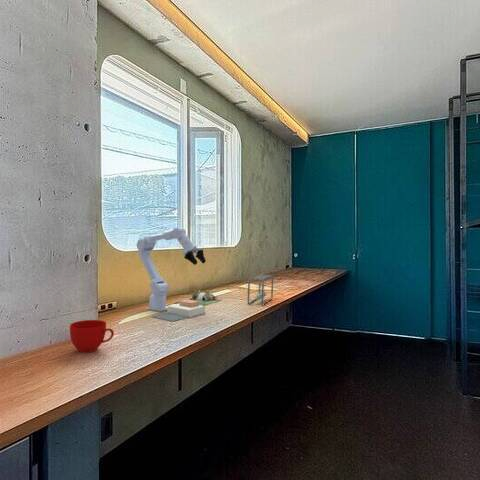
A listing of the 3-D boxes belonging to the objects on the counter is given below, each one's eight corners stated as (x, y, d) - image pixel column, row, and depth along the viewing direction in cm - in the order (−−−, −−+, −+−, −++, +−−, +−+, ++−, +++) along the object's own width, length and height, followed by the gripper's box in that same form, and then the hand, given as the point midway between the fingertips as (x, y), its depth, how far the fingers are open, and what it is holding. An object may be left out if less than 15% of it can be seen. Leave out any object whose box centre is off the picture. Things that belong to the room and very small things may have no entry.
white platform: (167, 313, 208) (167, 306, 208) (183, 309, 220) (183, 302, 220) (188, 317, 200) (189, 310, 200) (204, 313, 212) (205, 306, 211)
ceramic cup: (103, 357, 133) (104, 330, 133) (61, 353, 136) (62, 326, 136) (121, 347, 146) (121, 322, 146) (82, 343, 149) (83, 318, 149)
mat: (150, 317, 198) (150, 316, 198) (166, 313, 208) (166, 312, 208) (173, 321, 189) (173, 320, 189) (188, 317, 199) (188, 316, 199)
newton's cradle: (262, 306, 237) (263, 279, 236) (247, 305, 240) (248, 277, 239) (272, 298, 265) (273, 274, 265) (258, 297, 268) (259, 273, 268)
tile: (179, 305, 211) (179, 301, 211) (187, 303, 217) (187, 299, 217) (191, 307, 207) (191, 303, 207) (199, 305, 212) (199, 301, 212)
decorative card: (200, 286, 265) (225, 289, 256) (200, 297, 265) (225, 300, 257) (173, 292, 236) (200, 295, 227) (173, 304, 236) (200, 308, 227)
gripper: (182, 240, 200) (196, 259, 195) (199, 239, 212) (212, 257, 208) (175, 249, 202) (188, 268, 198) (192, 247, 215) (205, 265, 211)
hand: (200, 263), depth 203 cm, fingers open, 7 cm apart
